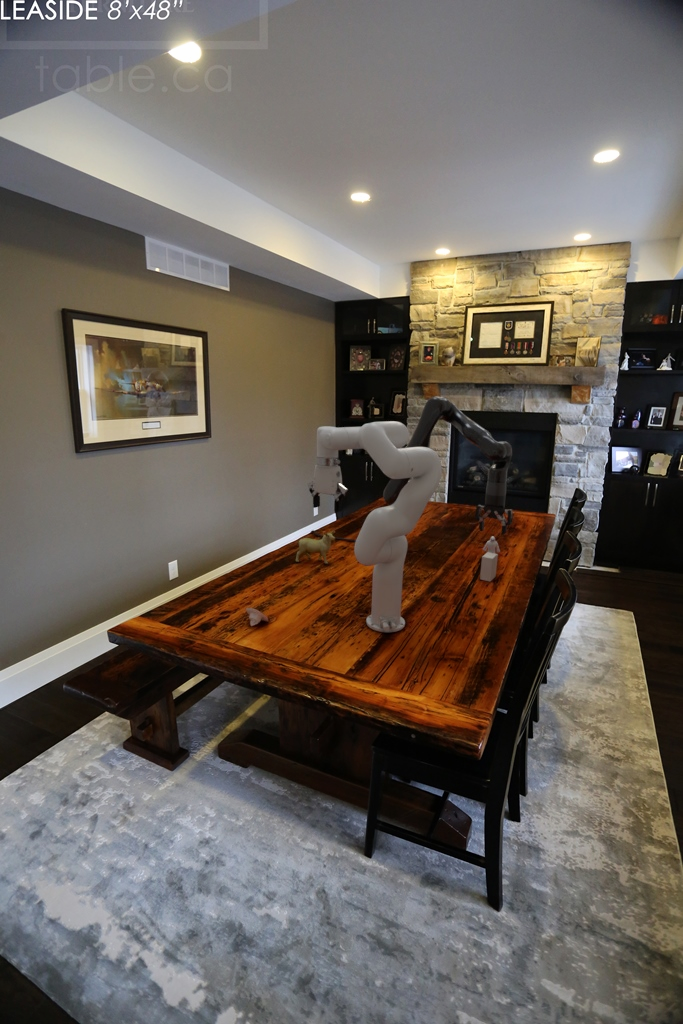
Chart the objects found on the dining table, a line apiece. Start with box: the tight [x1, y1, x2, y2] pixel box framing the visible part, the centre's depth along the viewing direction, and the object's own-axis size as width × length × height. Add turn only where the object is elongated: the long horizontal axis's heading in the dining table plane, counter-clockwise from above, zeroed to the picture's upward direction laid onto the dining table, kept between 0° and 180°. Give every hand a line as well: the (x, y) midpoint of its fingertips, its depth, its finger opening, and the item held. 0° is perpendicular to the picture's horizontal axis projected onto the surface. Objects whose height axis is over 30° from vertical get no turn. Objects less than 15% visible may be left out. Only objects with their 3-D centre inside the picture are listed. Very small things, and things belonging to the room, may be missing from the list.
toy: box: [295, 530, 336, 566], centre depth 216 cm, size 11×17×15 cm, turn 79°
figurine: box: [482, 535, 501, 554], centre depth 223 cm, size 8×8×12 cm
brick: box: [479, 551, 499, 582], centre depth 203 cm, size 4×7×10 cm, turn 146°
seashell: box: [245, 607, 269, 627], centre depth 160 cm, size 8×5×8 cm
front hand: (326, 509), depth 180 cm, fingers open, 9 cm apart
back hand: (492, 532), depth 199 cm, fingers open, 8 cm apart
